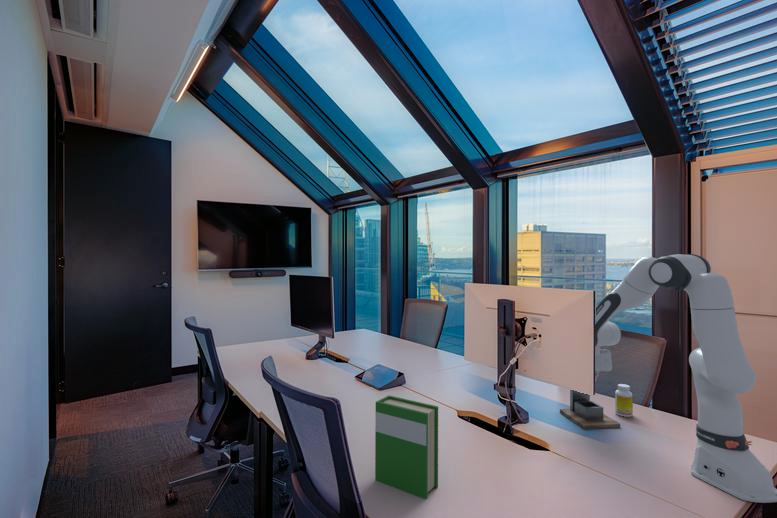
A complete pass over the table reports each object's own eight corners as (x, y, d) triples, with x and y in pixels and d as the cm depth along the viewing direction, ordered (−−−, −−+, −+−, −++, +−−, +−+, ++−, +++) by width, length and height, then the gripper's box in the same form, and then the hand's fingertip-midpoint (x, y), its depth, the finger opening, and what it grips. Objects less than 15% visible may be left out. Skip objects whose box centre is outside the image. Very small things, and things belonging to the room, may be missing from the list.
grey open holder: (603, 419, 168) (603, 385, 168) (585, 420, 167) (585, 386, 167) (587, 409, 180) (587, 378, 180) (570, 410, 179) (570, 378, 179)
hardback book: (437, 487, 119) (438, 406, 120) (426, 499, 113) (426, 414, 113) (388, 470, 129) (388, 395, 129) (375, 480, 123) (375, 401, 123)
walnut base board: (620, 427, 163) (620, 423, 163) (583, 429, 162) (583, 425, 162) (593, 411, 181) (593, 407, 181) (559, 412, 180) (559, 409, 180)
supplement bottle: (635, 418, 174) (635, 388, 174) (618, 416, 175) (618, 387, 175) (629, 412, 180) (629, 383, 180) (613, 411, 181) (612, 382, 182)
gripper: (606, 347, 176) (605, 378, 176) (562, 347, 174) (561, 379, 174) (615, 350, 170) (615, 383, 170) (570, 350, 168) (569, 383, 168)
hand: (587, 381), depth 172 cm, fingers closed on oak rail end, 4 cm apart
